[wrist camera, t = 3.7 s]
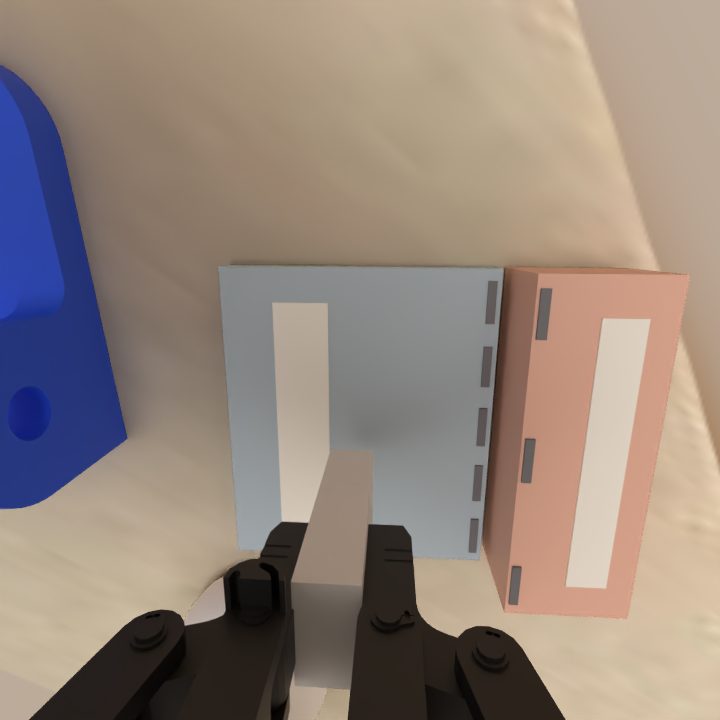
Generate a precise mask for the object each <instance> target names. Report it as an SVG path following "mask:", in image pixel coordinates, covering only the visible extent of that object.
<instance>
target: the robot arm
mask: <svg viewBox="0 0 720 720" xmlns="http://www.w3.org/2000/svg"><path fill="white" fill-rule="evenodd" d="M372 516H373V451H368V450H338V449H331V450H330V454H329V457H328V460H327V464H326V467H325V470H324V474H323V477H322V480H321V484H320V487H319V490H318V493H317V497H316V500H315V503H314V507H313V510H312V513H311V517H310V520H309V523H304V522H281V523H279V524H278V525H277V526H276V527H275V528H274V529H273V530H272V531H271V532H270V533H269V536H268V538H267V540H266V543H265V547H263V550H262V552H261V554H260V557H259V559H250V560H247V561H244V562H241V563H239V564H237V565H236V566H234V567H233V568H231V569H229V571H228V572H227V573H226V574H225V576H224V577H223V584H224V597H225V613H224V615H222V616H220V617H218V618H216V619H212V620H209V621H205V622H201V623H196V624H191V625H186V626H185V624H184V621H183V619H182V617H181V615H179V614H177V613H176V612H174V611H171V610H156V611H151V612H147V613H145V614H143V615H141V616H138V617H136V618H134V619H133V620H132V621H130V622H129V623H128V624H127V625H125V626H124V627H123V628H122V629H121V630H120V631H119V632H118V633H117V634H116V635H115V636H114V637H113V638H112V639H111V640H110V641H109V642H108V643H107V644H106V645H105V646H104V647H103V648H101V649H100V650H99V651H98V652H97V653H96V654H95V655H94V656H93V657H92V658H91V659H90V660H89V661H88V662H87V663H86V664H85V665H84V666H83V667H82V668H81V669H80V670H79V671H78V672H77V673H76V674H75V675H74V676H73V677H72V678H71V679H70V680H69V681H68V682H67V683H66V684H65V685H64V686H63V687H62V688H61V689H60V690H59V691H58V692H57V693H56V694H55V695H54V696H53V697H52V698H51V699H50V700H49V701H48V702H47V703H46V704H45V705H44V706H43V707H42V708H41V709H40V710H38V711H37V712H36V713H35V714H34V716H32V717H31V718H30V719H29V720H288V716H289V712H290V686H291V681H292V677H293V673H294V684H295V686H303V687H318V688H333V689H348V690H350V701H349V711H348V720H565V718H564V716H563V715H562V713H561V711H560V710H559V708H558V707H557V705H556V703H555V702H554V700H553V698H552V697H551V695H550V693H549V692H548V690H547V688H546V687H545V685H544V684H543V682H542V680H541V679H540V677H539V675H538V674H537V672H536V670H535V669H534V667H533V665H532V664H531V662H530V661H529V659H528V657H527V656H526V654H525V652H524V651H523V649H522V648H521V647H520V645H519V644H518V643H517V642H516V641H515V640H514V638H512V637H511V636H509V635H508V634H506V633H505V632H503V631H501V630H498V629H495V628H492V627H489V626H475V627H472V628H469V629H467V630H465V631H464V632H463V633H462V634H461V635H460V636H459V637H458V638H457V637H454V636H451V635H448V634H445V633H443V632H440V631H438V630H436V629H434V628H433V627H432V626H430V625H429V624H427V622H426V621H425V620H424V619H423V618H422V617H421V615H420V613H419V612H418V609H417V604H416V593H415V579H414V566H413V552H412V538H411V536H410V534H409V533H408V531H407V530H406V529H405V527H404V526H403V525H380V524H372Z"/></svg>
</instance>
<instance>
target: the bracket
mask: <svg viewBox="0 0 720 720" xmlns="http://www.w3.org/2000/svg"><path fill="white" fill-rule="evenodd" d="M126 439H127V435H126V431H125V426H124V422H123V417H122V413H121V408H120V404H119V399H118V395H117V390H116V386H115V381H114V377H113V372H112V368H111V363H110V359H109V354H108V349H107V345H106V340H105V336H104V331H103V327H102V322H101V318H100V313H99V309H98V304H97V300H96V295H95V291H94V286H93V282H92V277H91V273H90V268H89V264H88V259H87V255H86V250H85V246H84V241H83V237H82V232H81V228H80V223H79V219H78V214H77V210H76V205H75V201H74V196H73V192H72V187H71V183H70V178H69V174H68V169H67V165H66V160H65V156H64V151H63V147H62V143H61V140H60V137H59V134H58V131H57V128H56V126H55V124H54V122H53V120H52V118H51V116H50V114H49V112H48V111H47V109H46V107H45V106H44V104H43V103H42V102H41V100H40V99H39V97H38V96H37V95H36V94H35V93H34V91H33V90H32V89H31V88H30V87H29V86H28V85H27V84H26V83H25V82H24V81H23V80H22V79H20V78H19V77H18V76H17V75H15V74H14V73H13V72H11V71H10V70H8V69H7V68H5V67H4V66H2V65H0V509H14V508H23V507H27V506H31V505H34V504H36V503H39V502H41V501H43V500H45V499H46V498H48V497H49V496H51V495H52V494H54V493H55V492H57V491H58V490H59V489H61V488H62V487H63V486H65V485H66V484H67V483H69V482H70V481H71V480H73V479H74V478H75V477H77V476H78V475H79V474H81V473H82V472H83V471H85V470H86V469H87V468H89V467H90V466H91V465H93V464H94V463H95V462H97V461H98V460H99V459H101V458H102V457H103V456H105V455H106V454H107V453H109V452H110V451H112V450H113V449H114V448H116V447H117V446H118V445H120V444H121V443H122V442H124V441H125V440H126Z"/></svg>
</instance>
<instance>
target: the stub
mask: <svg viewBox="0 0 720 720" xmlns="http://www.w3.org/2000/svg"><path fill="white" fill-rule="evenodd" d="M689 279H690V275H687V274H677V273H667V272H657V271H647V270H638V269H628V268H551V267H506V269H505V281H504V293H503V305H502V317H501V329H500V341H499V353H498V365H497V377H496V389H495V401H494V413H493V425H492V437H491V449H490V461H489V473H488V485H487V497H486V510H485V522H484V534H483V546H484V550H485V553H486V556H487V559H488V562H489V565H490V569H491V572H492V575H493V578H494V581H495V585H496V588H497V591H498V594H499V597H500V600H501V604H502V607H503V610H504V612H505V613H524V614H544V615H564V616H583V617H603V618H623V619H627V617H628V612H629V606H630V601H631V596H632V590H633V585H634V579H635V574H636V568H637V563H638V557H639V552H640V546H641V541H642V536H643V530H644V525H645V519H646V514H647V508H648V503H649V497H650V492H651V486H652V481H653V476H654V470H655V465H656V459H657V454H658V448H659V443H660V437H661V432H662V426H663V421H664V416H665V410H666V405H667V399H668V394H669V388H670V383H671V377H672V372H673V367H674V361H675V356H676V350H677V345H678V339H679V334H680V328H681V322H682V317H683V312H684V306H685V301H686V296H687V290H688V284H689Z"/></svg>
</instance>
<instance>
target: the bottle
mask: <svg viewBox="0 0 720 720" xmlns="http://www.w3.org/2000/svg"><path fill="white" fill-rule="evenodd" d="M223 577H224V576H223ZM223 577H221V578H220V579H218V580H216V581H214V582H213V583H212V584H211V585H210V586H209V587H208V588H207V589H206V590H205V591H204V592H203V593H202V594H201V595H200V597H199V598H198V599H197V600H196V601H195V602H194V604H193V605H192V606H191V608H190V610H189V612H188V614H187V616H186V618H185V619H184V624H185V626H186V625H191V624H196V623H201V622H205V621H209V620H212V619H216V618H218V617H220V616H222V615H224V613H225V597H224V584H223ZM326 692H327V688H318V687H303V686H295V684H294V673H293V677H292V681H291V686H290V712H289V716H288V720H315V719H316V717H317V716H318V714H319V712H320V710H321V707H322V705H323V702H324V699H325V696H326Z"/></svg>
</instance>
